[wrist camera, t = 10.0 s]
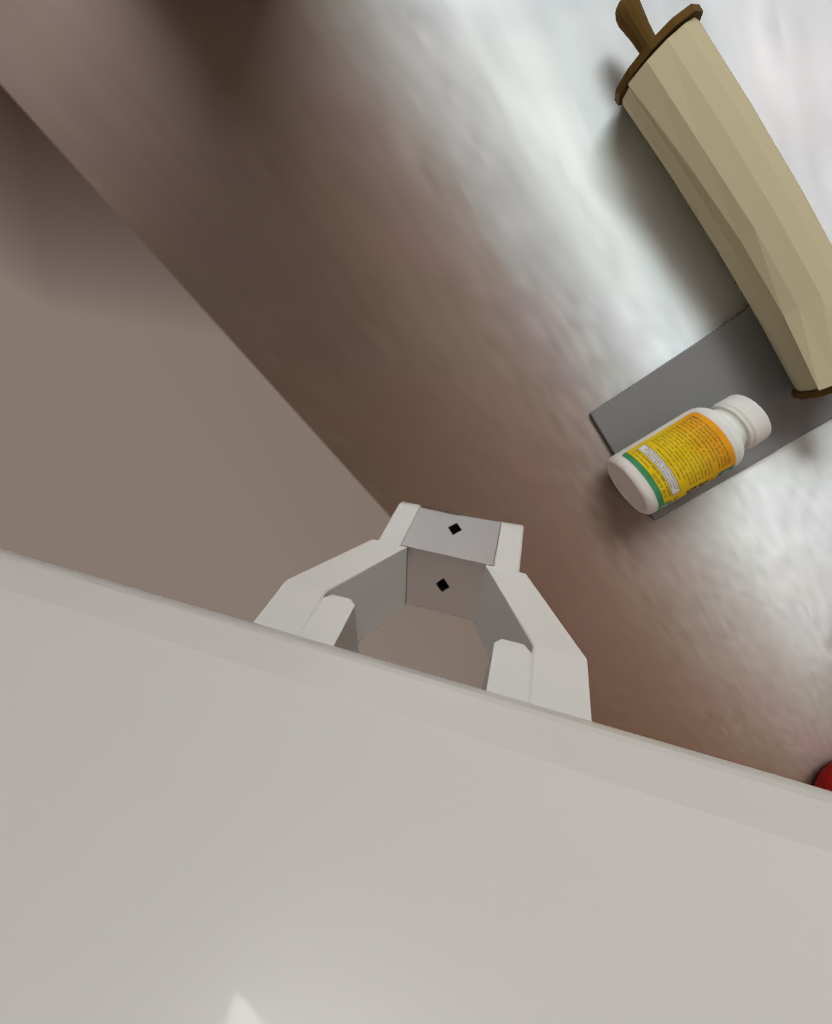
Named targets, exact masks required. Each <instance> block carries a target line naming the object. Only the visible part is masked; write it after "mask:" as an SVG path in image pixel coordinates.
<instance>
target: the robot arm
mask: <svg viewBox="0 0 832 1024" xmlns="http://www.w3.org/2000/svg"><path fill="white" fill-rule="evenodd" d="M523 530H524V528H523V525H518V524H512V523H506V522H502V523H501V522H497V521H491V520H486V519H481V518H476V517H471V516H466V515H461V514H458V513H453V512H449V511H444V510H440V509H435V508H431V507H426V506H421V505H417V504H412V503H407V502H401V503H400V504H399V505H398V507H397V508H396V510H395V512H394V514H393V515H392V517H391V519H390V521H389V522H388V524H387V526H386V528H385V530H384V531H383V533H382V535H381V536H380V538H379V540H373V539H372V540H370V541H368V542H366V543H364V544H362V545H360V546H357V547H355V548H353V549H351V550H349V551H347V552H345V553H343V554H341V555H339V556H337V557H334V558H332V559H330V560H328V561H326V562H324V563H322V564H320V565H318V566H315V567H313V568H311V569H309V570H307V571H305V572H303V573H301V574H299V575H296V576H294V577H292V578H290V579H288V580H286V581H285V582H284V584H283V585H282V586H281V588H280V589H279V590H278V591H277V593H276V594H275V595H274V597H273V598H272V600H271V601H270V602H269V603H268V604H267V606H266V607H265V608H264V610H263V611H262V612H261V613H260V615H259V616H258V617H257V619H256V620H255V621H254V622H250V621H246V620H243V619H240V618H236V617H233V616H229V615H226V614H222V613H219V612H216V611H212V610H209V609H205V608H202V607H199V606H195V605H192V604H188V603H185V602H181V601H178V600H174V599H171V598H167V597H164V596H160V595H157V594H154V593H151V592H147V591H143V590H140V589H137V588H133V587H130V586H126V585H123V584H120V583H116V582H112V581H109V580H106V579H102V578H99V577H95V576H92V575H88V574H85V573H82V572H79V571H75V570H71V569H68V568H65V567H61V566H58V565H55V564H51V563H47V562H44V561H41V560H37V559H34V558H30V557H27V556H23V555H20V554H17V553H13V552H10V551H6V550H3V549H0V1024H832V791H829V790H825V789H822V788H818V787H815V786H812V785H808V784H805V783H801V782H798V781H795V780H791V779H788V778H784V777H781V776H777V775H774V774H771V773H767V772H764V771H760V770H757V769H753V768H750V767H747V766H743V765H740V764H736V763H733V762H730V761H726V760H723V759H719V758H716V757H712V756H709V755H706V754H702V753H699V752H695V751H692V750H688V749H685V748H682V747H678V746H675V745H671V744H668V743H665V742H661V741H658V740H654V739H651V738H647V737H644V736H641V735H637V734H634V733H630V732H627V731H623V730H620V729H617V728H613V727H610V726H606V725H603V724H600V723H596V722H593V721H591V708H590V695H589V681H588V668H587V659H586V658H585V656H584V655H583V654H582V652H581V651H580V649H579V648H578V647H577V645H576V644H575V642H574V641H573V640H572V638H571V637H570V635H569V634H568V633H567V631H566V630H565V628H564V627H563V626H562V624H561V623H560V621H559V620H558V619H557V617H556V616H555V614H554V613H553V612H552V610H551V609H550V607H549V606H548V605H547V603H546V602H545V600H544V599H543V598H542V596H541V595H540V593H539V592H538V591H537V589H536V588H535V586H534V585H533V583H532V582H531V581H530V579H529V578H528V576H527V575H526V574H524V573H520V572H519V569H520V559H521V550H522V540H523ZM405 604H409V605H413V606H418V607H422V608H427V609H431V610H435V611H440V612H443V613H447V614H450V615H453V616H457V617H461V618H464V619H468V620H471V621H474V623H475V626H476V629H477V631H478V634H479V636H480V639H481V641H482V644H483V646H484V649H485V652H486V654H487V656H488V659H489V664H488V668H487V672H486V675H485V679H484V683H483V687H482V689H479V688H476V687H472V686H469V685H466V684H462V683H459V682H455V681H452V680H448V679H444V678H441V677H438V676H435V675H431V674H428V673H424V672H421V671H418V670H414V669H411V668H407V667H404V666H401V665H397V664H394V663H390V662H387V661H383V660H380V659H377V658H373V657H369V656H366V655H363V654H359V651H358V642H359V641H360V640H362V639H363V638H364V637H366V636H367V635H368V634H370V633H371V632H372V631H373V630H375V629H376V628H377V627H378V626H380V625H381V624H382V623H384V622H385V621H386V620H388V619H389V618H390V617H391V616H393V615H394V614H395V613H396V612H398V611H399V610H400V609H402V608H403V607H404V606H405Z"/></svg>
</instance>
